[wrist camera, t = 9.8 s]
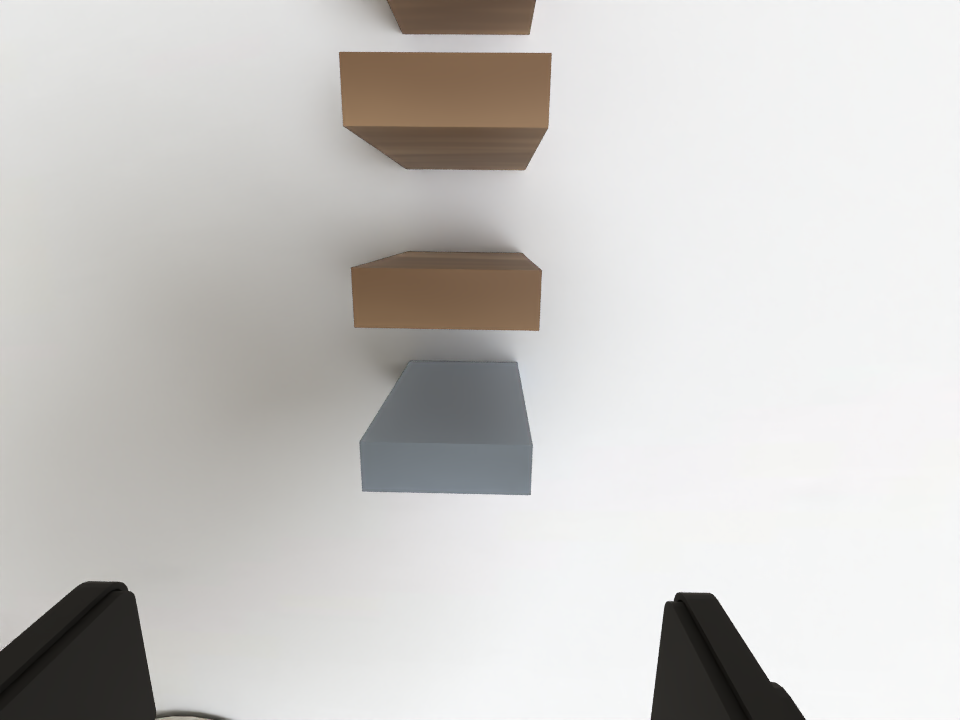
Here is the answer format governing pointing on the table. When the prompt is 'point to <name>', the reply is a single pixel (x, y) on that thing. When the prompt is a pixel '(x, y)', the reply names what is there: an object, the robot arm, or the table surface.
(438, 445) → the blue grey rectangular block
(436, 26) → the walnut tile
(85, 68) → the table surface
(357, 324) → the walnut tile
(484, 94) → the walnut tile
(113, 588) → the robot arm
